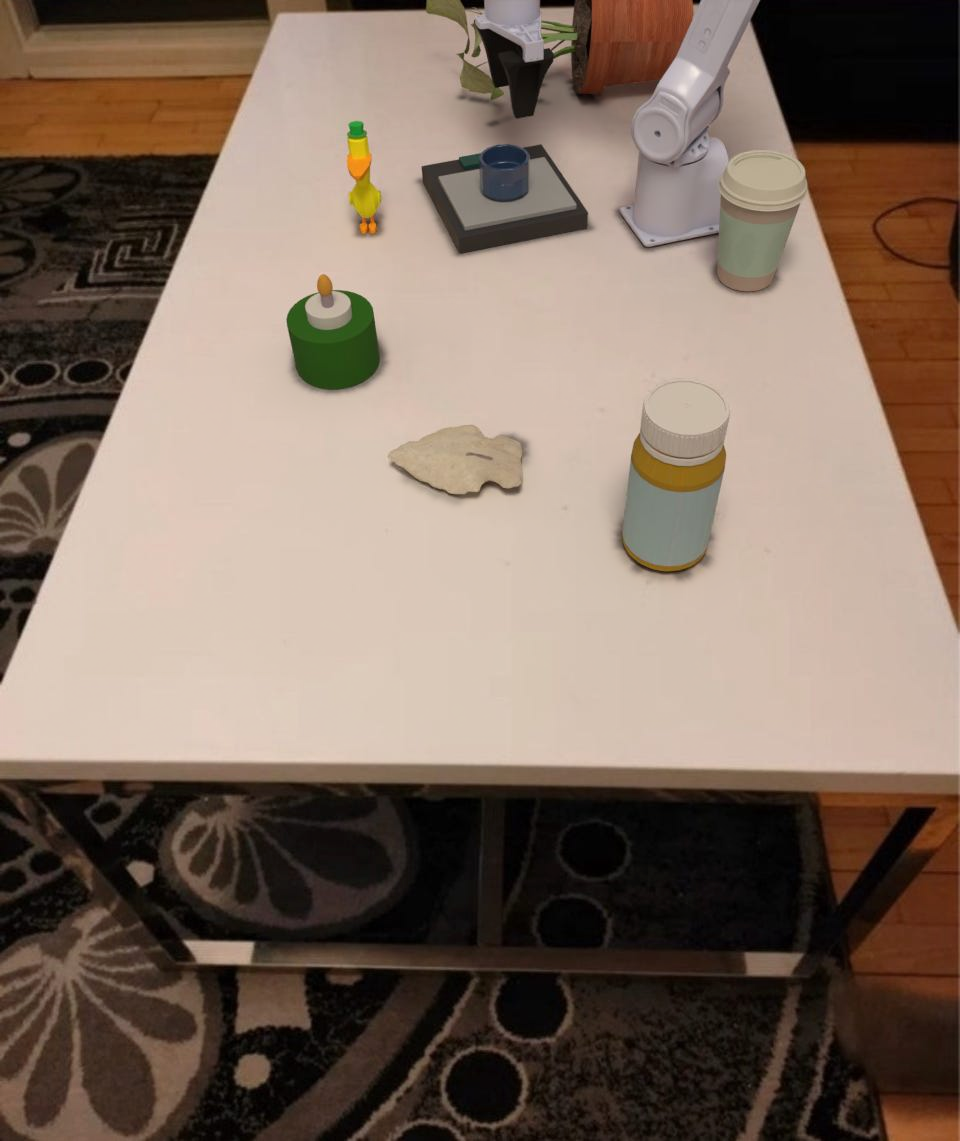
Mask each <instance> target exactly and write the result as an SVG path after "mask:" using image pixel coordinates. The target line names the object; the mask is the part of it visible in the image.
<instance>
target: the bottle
mask: <svg viewBox="0 0 960 1141" xmlns="http://www.w3.org/2000/svg"><path fill="white" fill-rule="evenodd" d="M730 417H731V406H730V402H729V400H728V398H727V397H726V395H725V394H724V393H723V392H722V391H721V390H720V389H718V388H717V387H716V386H714V385H713V384H711V383H708V382H706V381H703V380H700V379H694V378H689V377H688V378H687V377H686V378H684V377H683V378H671V379H667V380H663V381H662V382H659V383H657V384H656V385H654V386H652V387H651V389H650V390H648V392H647V393H646V395H645V397H644V399H643V403H642V410H641V418H640V428H639V429H640V430H639V433H638V434H637V436H636V438H635V439H634V441H633V444H632V448H631V454H630V461H629V471H628V480H627V486H626V495H625V497H626V498H625V504H624V514H623V522H622V532H621V533H622V535H621V536H622V537H621V538H622V543H623V547H624V549H625V550H626V552H627V553H628V555H629V556H630V557H631V558H632V559H633V560H635V561H636V562H637V563H638V564H640V565H642V566H644V567H646V568H649V569H651V570H654V571H659V572H676V571H677V572H678V571H682V570H684V569H685V570H686V569H687V568H690V567H692V566H694V565H695V564H697V563H698V562H699V561H701V560H702V558H703V557H704V555H705V554H706V552H707V550H708V546H709V544H710V543H709V542H710V538H711V533H712V530H713V529H712V528H713V525H714V520H715V515H716V510H717V505H718V501H719V497H720V493H721V489H722V488H721V487H722V482H723V478H724V474H725V469H726V463H727V462H726V460H727V451H726V448H725V440H726V435H727V431H728V427H729V421H730Z"/></svg>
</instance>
